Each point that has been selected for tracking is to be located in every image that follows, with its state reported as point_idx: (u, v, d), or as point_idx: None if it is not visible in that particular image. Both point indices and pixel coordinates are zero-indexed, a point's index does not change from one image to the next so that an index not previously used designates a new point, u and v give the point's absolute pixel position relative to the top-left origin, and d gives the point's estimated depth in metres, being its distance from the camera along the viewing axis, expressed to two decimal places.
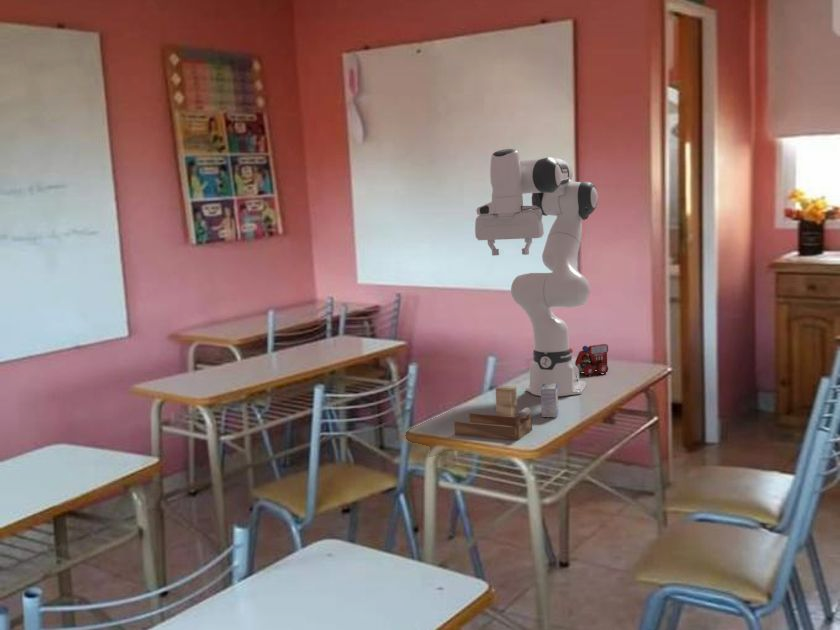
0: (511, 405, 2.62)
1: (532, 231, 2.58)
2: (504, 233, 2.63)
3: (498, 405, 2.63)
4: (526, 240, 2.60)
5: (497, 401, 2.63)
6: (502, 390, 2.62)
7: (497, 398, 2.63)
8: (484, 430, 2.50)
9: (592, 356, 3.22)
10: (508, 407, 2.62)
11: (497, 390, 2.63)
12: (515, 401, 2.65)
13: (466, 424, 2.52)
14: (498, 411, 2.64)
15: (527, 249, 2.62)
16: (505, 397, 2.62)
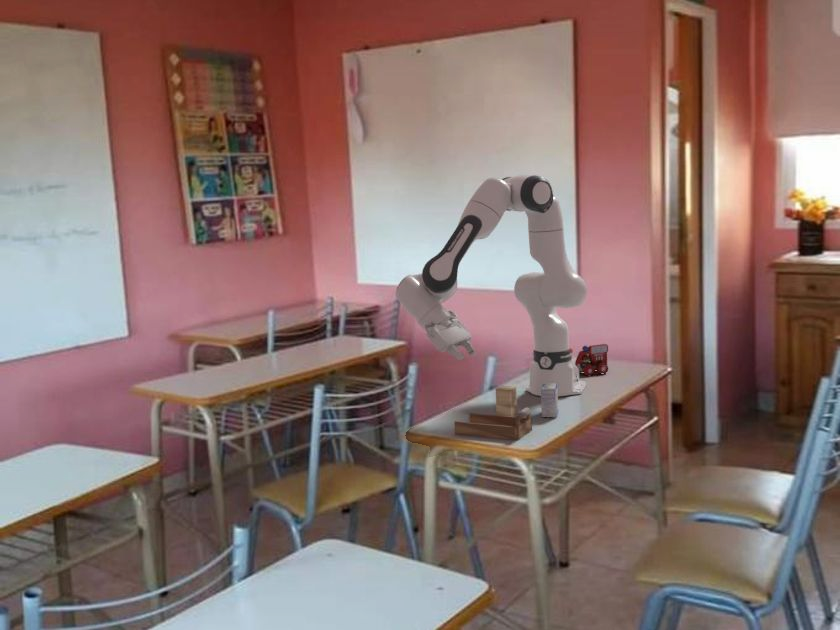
0: (511, 405, 2.62)
1: None
2: None
3: (498, 405, 2.63)
4: None
5: (497, 401, 2.63)
6: (502, 390, 2.62)
7: (497, 398, 2.63)
8: (484, 430, 2.50)
9: (592, 356, 3.22)
10: (508, 407, 2.62)
11: (497, 390, 2.63)
12: (515, 401, 2.65)
13: (466, 424, 2.52)
14: (498, 411, 2.64)
15: (457, 355, 2.63)
16: (505, 397, 2.62)
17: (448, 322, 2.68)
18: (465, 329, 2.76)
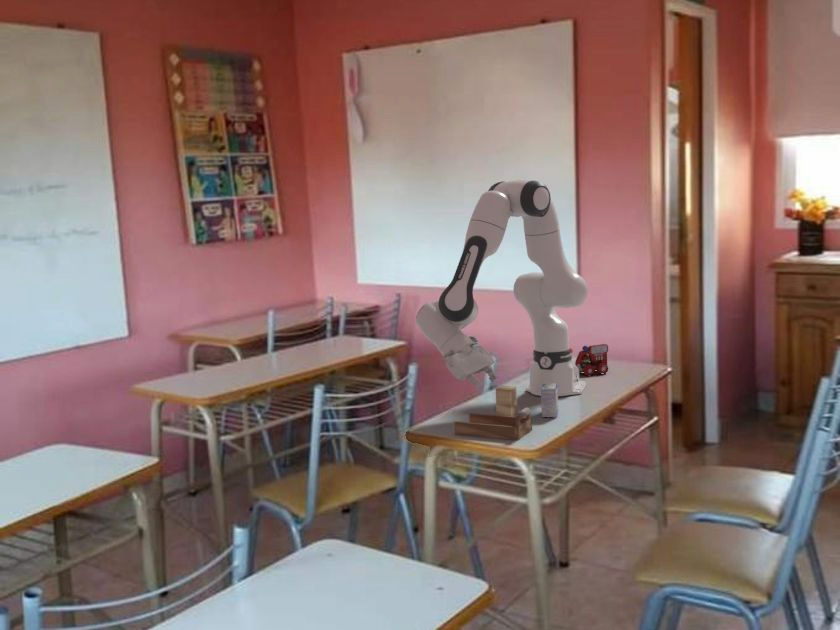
0: (511, 405, 2.62)
1: None
2: None
3: (498, 405, 2.63)
4: None
5: (497, 401, 2.63)
6: (502, 390, 2.62)
7: (497, 398, 2.63)
8: (484, 430, 2.50)
9: (592, 356, 3.22)
10: (508, 407, 2.62)
11: (497, 390, 2.63)
12: (515, 401, 2.65)
13: (466, 424, 2.52)
14: (498, 411, 2.64)
15: (477, 383, 2.62)
16: (505, 397, 2.62)
17: (468, 349, 2.67)
18: (487, 354, 2.75)
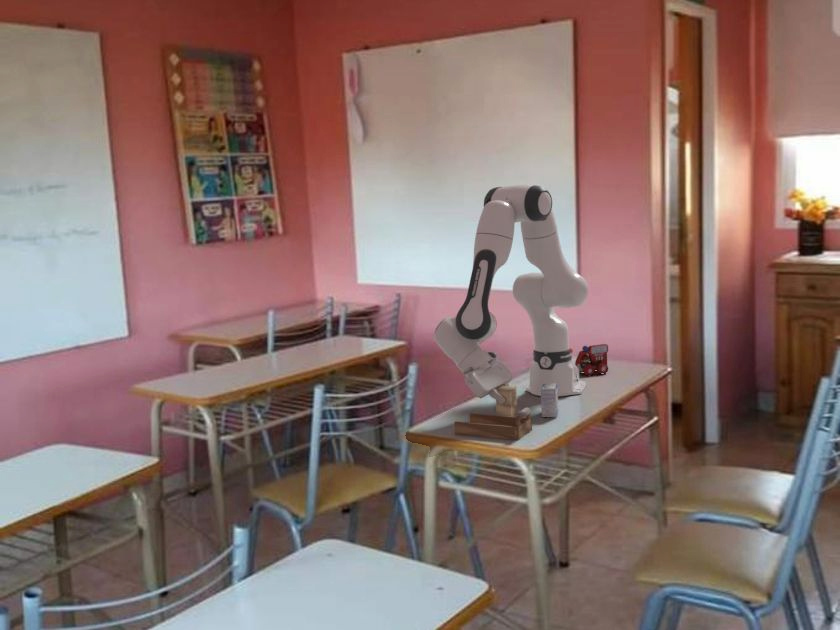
0: (511, 405, 2.62)
1: None
2: None
3: (498, 405, 2.63)
4: None
5: (497, 401, 2.63)
6: (502, 390, 2.62)
7: None
8: (484, 430, 2.50)
9: (592, 356, 3.22)
10: (508, 407, 2.62)
11: (497, 390, 2.63)
12: (515, 401, 2.65)
13: (466, 424, 2.52)
14: (498, 411, 2.64)
15: (499, 399, 2.61)
16: (505, 397, 2.62)
17: (487, 366, 2.65)
18: (506, 369, 2.73)
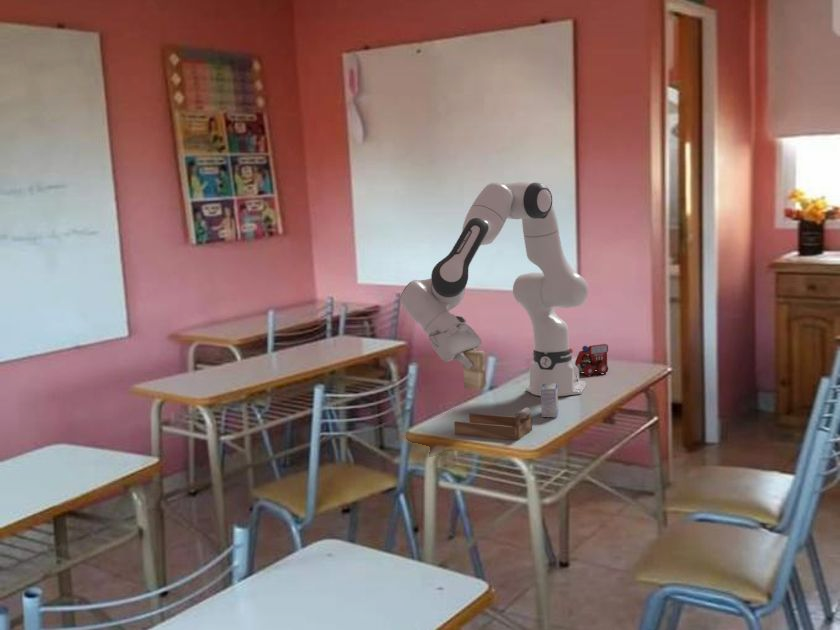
0: (479, 370, 2.52)
1: None
2: None
3: (465, 370, 2.53)
4: None
5: (464, 366, 2.53)
6: (469, 354, 2.52)
7: None
8: (484, 430, 2.50)
9: (592, 356, 3.22)
10: (476, 371, 2.52)
11: (464, 354, 2.53)
12: (483, 366, 2.54)
13: (466, 424, 2.52)
14: (465, 376, 2.53)
15: (466, 363, 2.51)
16: (473, 361, 2.52)
17: (455, 329, 2.54)
18: (475, 335, 2.62)
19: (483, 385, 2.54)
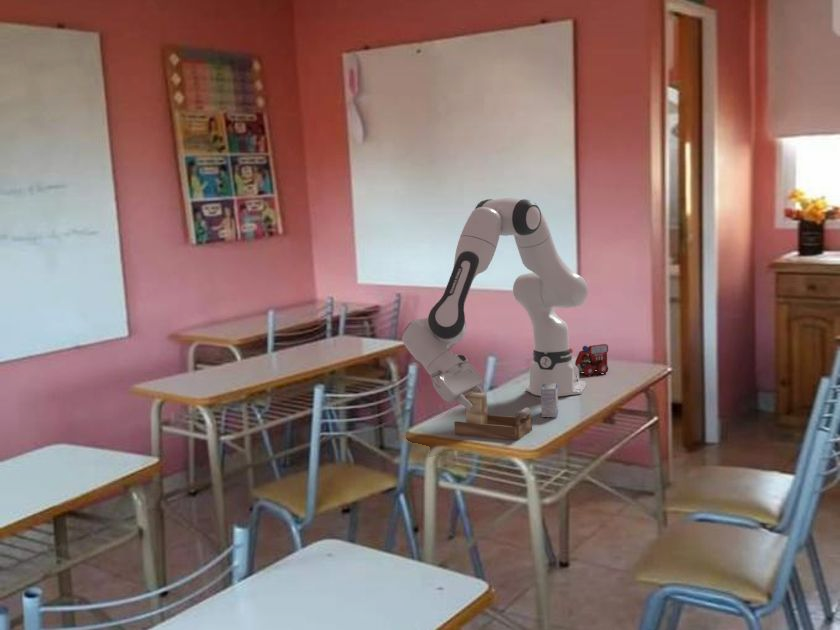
0: (481, 413, 2.54)
1: None
2: None
3: (468, 412, 2.55)
4: None
5: (466, 408, 2.55)
6: (472, 397, 2.54)
7: None
8: (484, 430, 2.50)
9: (592, 356, 3.22)
10: (478, 414, 2.53)
11: (466, 397, 2.54)
12: (485, 408, 2.56)
13: (466, 424, 2.52)
14: (468, 419, 2.55)
15: (466, 404, 2.52)
16: (475, 404, 2.53)
17: (456, 369, 2.56)
18: (476, 373, 2.64)
19: None
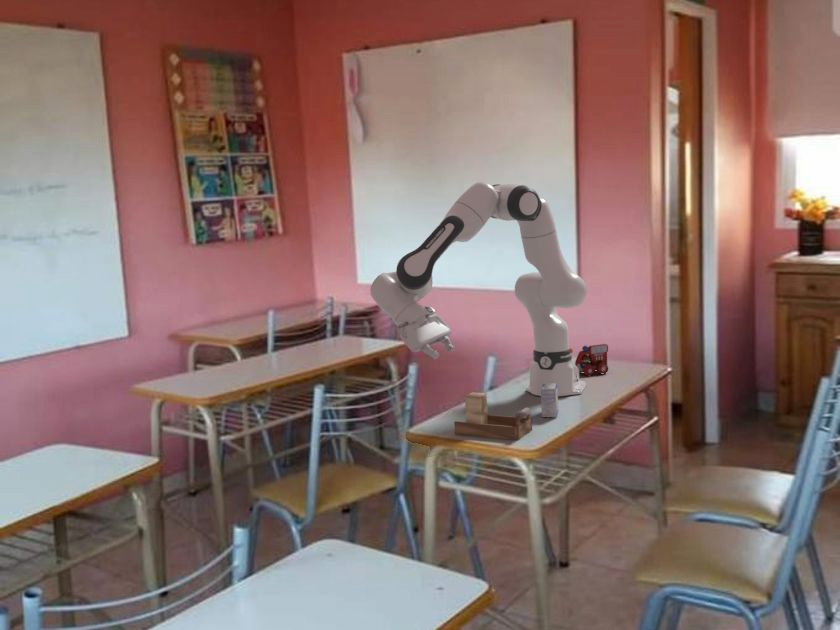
0: (481, 413, 2.54)
1: None
2: None
3: (468, 412, 2.55)
4: None
5: (466, 408, 2.55)
6: (472, 397, 2.54)
7: (467, 405, 2.55)
8: (484, 430, 2.50)
9: (592, 356, 3.22)
10: (478, 414, 2.53)
11: (466, 397, 2.54)
12: (485, 408, 2.56)
13: (466, 424, 2.52)
14: (468, 419, 2.55)
15: (432, 354, 2.58)
16: (475, 404, 2.53)
17: (423, 320, 2.63)
18: (444, 324, 2.71)
19: None
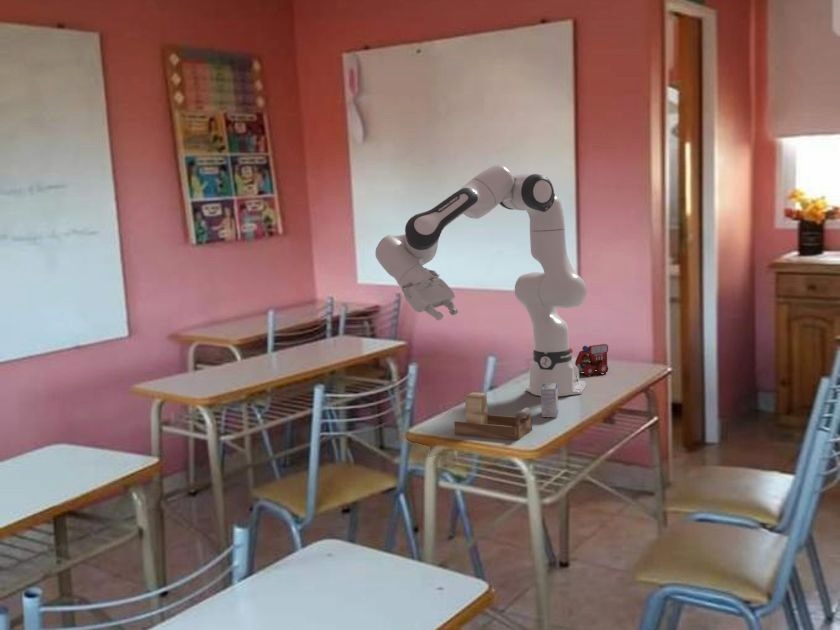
0: (481, 413, 2.54)
1: None
2: None
3: (468, 412, 2.55)
4: None
5: (466, 408, 2.55)
6: (472, 397, 2.54)
7: (467, 405, 2.55)
8: (484, 430, 2.50)
9: (592, 356, 3.22)
10: (478, 414, 2.53)
11: (466, 397, 2.54)
12: (485, 408, 2.56)
13: (466, 424, 2.52)
14: (468, 419, 2.55)
15: (436, 315, 2.58)
16: (475, 404, 2.53)
17: (427, 282, 2.63)
18: (448, 288, 2.71)
19: None
